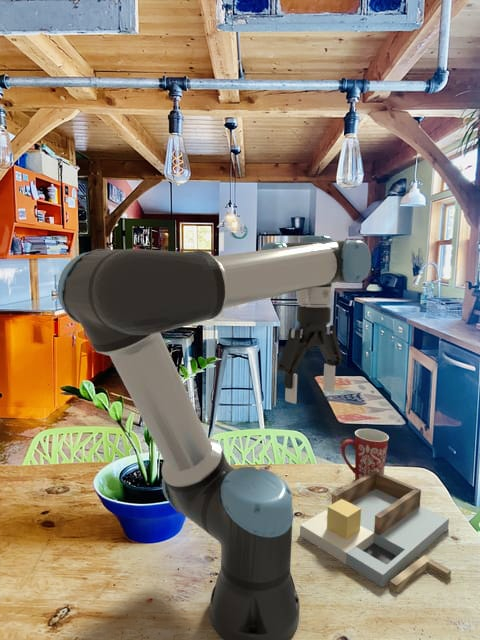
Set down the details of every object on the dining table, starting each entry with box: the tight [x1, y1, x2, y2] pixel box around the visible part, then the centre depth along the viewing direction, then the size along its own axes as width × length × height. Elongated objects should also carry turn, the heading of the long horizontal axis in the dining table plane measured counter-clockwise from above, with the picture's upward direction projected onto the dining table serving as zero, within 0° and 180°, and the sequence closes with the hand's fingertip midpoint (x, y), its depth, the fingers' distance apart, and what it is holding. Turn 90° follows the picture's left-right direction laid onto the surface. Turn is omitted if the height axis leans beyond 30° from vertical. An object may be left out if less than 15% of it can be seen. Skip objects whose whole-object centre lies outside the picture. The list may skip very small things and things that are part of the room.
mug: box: [340, 428, 390, 481], centre depth 118 cm, size 13×9×14 cm
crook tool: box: [389, 554, 452, 593], centre depth 80 cm, size 12×5×1 cm, turn 128°
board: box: [299, 489, 450, 588], centre depth 95 cm, size 28×20×2 cm
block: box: [327, 499, 361, 540], centre depth 92 cm, size 5×5×5 cm
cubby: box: [331, 471, 422, 535], centre depth 100 cm, size 18×12×4 cm
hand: (310, 396), depth 99 cm, fingers open, 13 cm apart
